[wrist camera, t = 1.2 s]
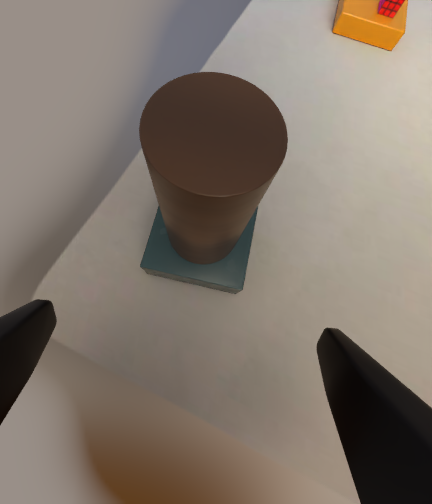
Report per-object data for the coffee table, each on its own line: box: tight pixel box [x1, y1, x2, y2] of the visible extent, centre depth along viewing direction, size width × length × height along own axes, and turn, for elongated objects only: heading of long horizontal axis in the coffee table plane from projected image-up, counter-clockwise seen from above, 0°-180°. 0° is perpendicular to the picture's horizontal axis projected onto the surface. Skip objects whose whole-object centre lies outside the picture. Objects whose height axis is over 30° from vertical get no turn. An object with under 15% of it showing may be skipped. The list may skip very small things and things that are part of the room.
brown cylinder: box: [139, 72, 288, 264], centre depth 15 cm, size 6×6×11 cm
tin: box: [140, 206, 258, 294], centre depth 21 cm, size 8×8×3 cm
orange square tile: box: [332, 0, 408, 51], centre depth 31 cm, size 8×8×4 cm
